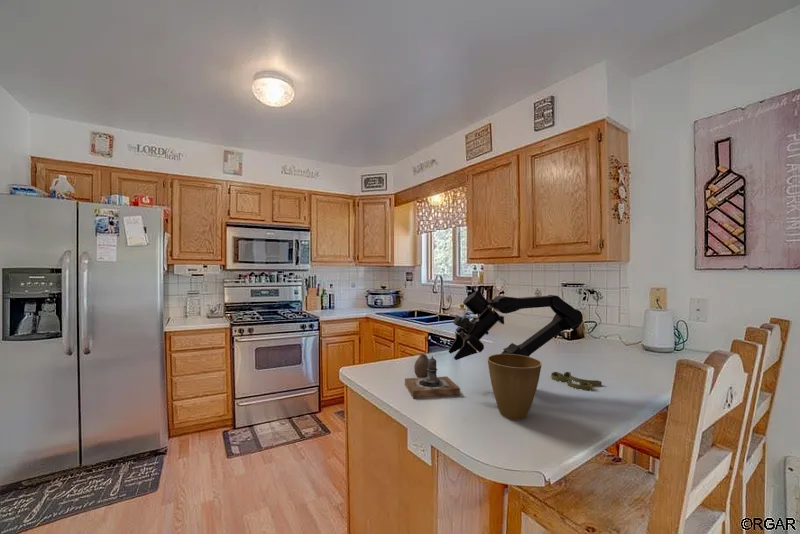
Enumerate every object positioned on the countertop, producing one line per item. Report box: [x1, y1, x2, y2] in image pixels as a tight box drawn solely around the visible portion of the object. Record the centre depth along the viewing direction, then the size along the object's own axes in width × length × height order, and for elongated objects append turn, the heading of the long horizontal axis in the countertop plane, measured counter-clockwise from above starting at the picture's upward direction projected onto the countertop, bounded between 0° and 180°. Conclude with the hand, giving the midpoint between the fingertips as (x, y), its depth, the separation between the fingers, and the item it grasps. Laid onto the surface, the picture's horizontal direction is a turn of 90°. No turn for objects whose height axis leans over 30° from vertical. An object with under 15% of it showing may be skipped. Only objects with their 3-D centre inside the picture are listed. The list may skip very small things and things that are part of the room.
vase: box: [413, 353, 430, 378], centre depth 136 cm, size 7×7×9 cm
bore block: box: [404, 376, 461, 399], centre depth 121 cm, size 16×13×2 cm
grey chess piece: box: [424, 355, 441, 387], centre depth 121 cm, size 6×6×12 cm
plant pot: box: [487, 353, 543, 421], centre depth 102 cm, size 15×15×16 cm
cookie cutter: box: [550, 371, 603, 392], centre depth 132 cm, size 18×12×2 cm, turn 29°
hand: (451, 355), depth 122 cm, fingers open, 9 cm apart
